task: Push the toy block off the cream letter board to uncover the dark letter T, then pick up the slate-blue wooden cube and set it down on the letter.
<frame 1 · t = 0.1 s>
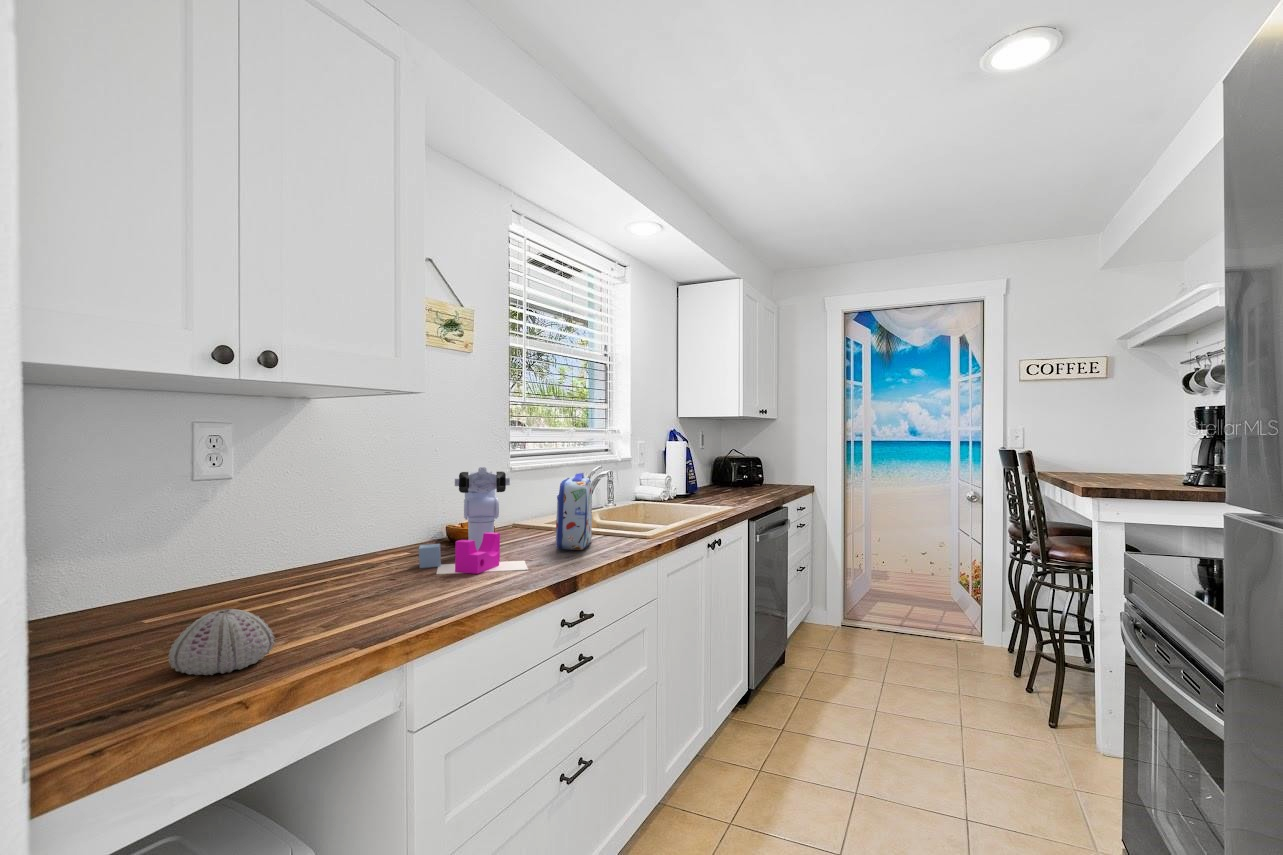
hand: (483, 482, 167), 22 cm above the worktop, tool horizontal, fingers open, 7 cm apart
lunch box: (574, 546, 195), on the worktop
toy block: (482, 567, 163), resting on letter board
letter board: (482, 567, 163), on the worktop
blue cube: (430, 565, 165), on the worktop, touching letter board
sea urchin shell: (222, 665, 96), on the worktop
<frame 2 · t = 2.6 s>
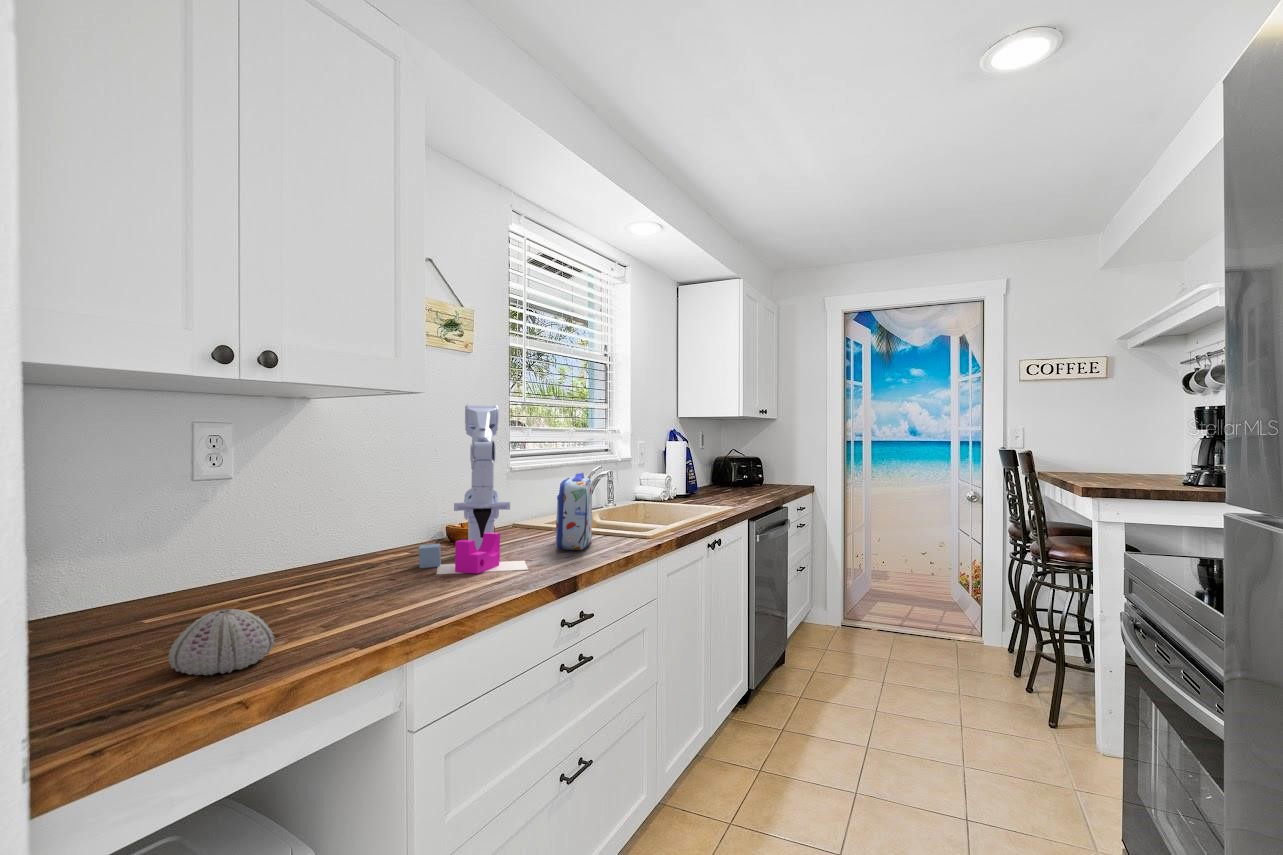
hand: (482, 537, 171), 7 cm above the worktop, tool pointing down, fingers closed, pressing on toy block
toy block: (482, 567, 163), resting on letter board, touching gripper
everything else where it was.
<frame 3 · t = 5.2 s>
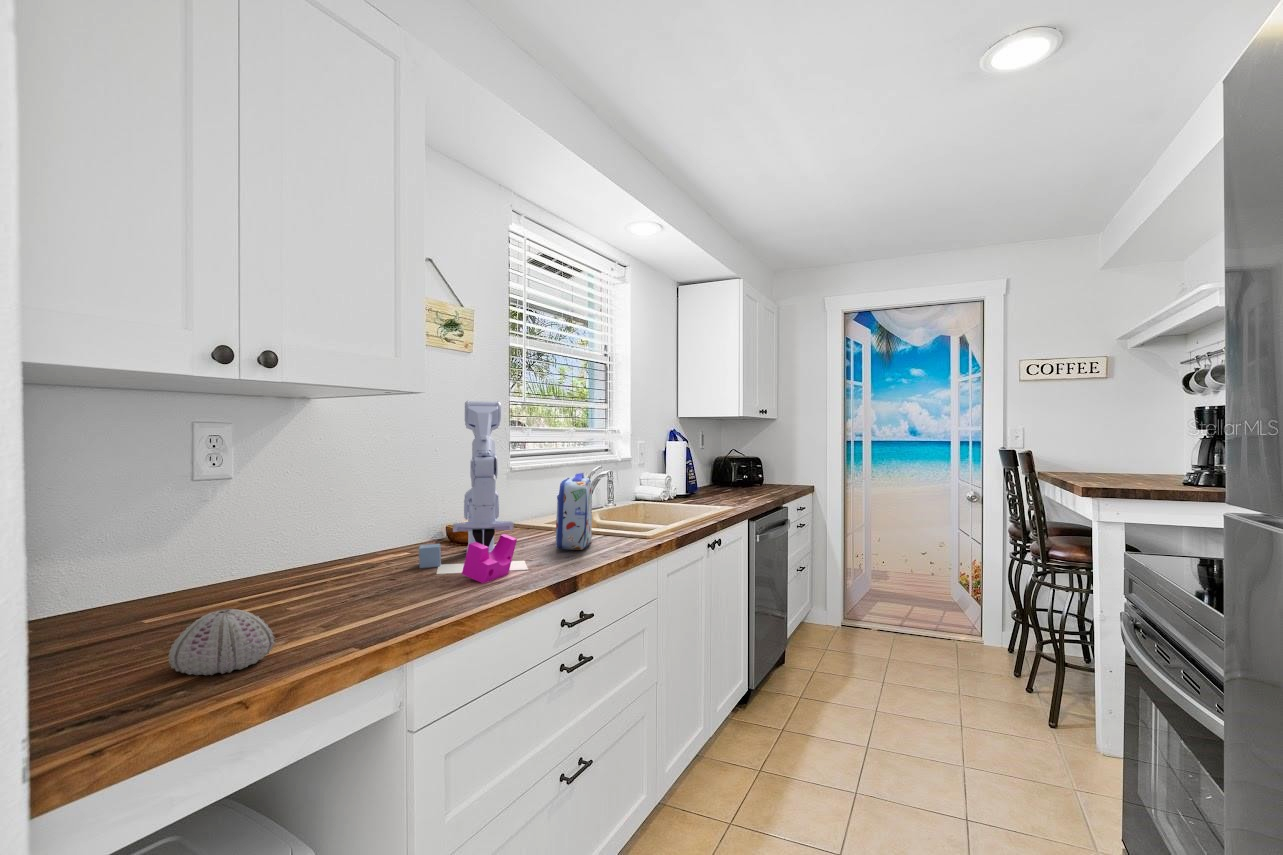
hand: (483, 559, 159), 3 cm above the worktop, tool pointing down, fingers closed
toy block: (490, 573, 155), point 1 cm above the worktop, touching gripper
everything else where it was.
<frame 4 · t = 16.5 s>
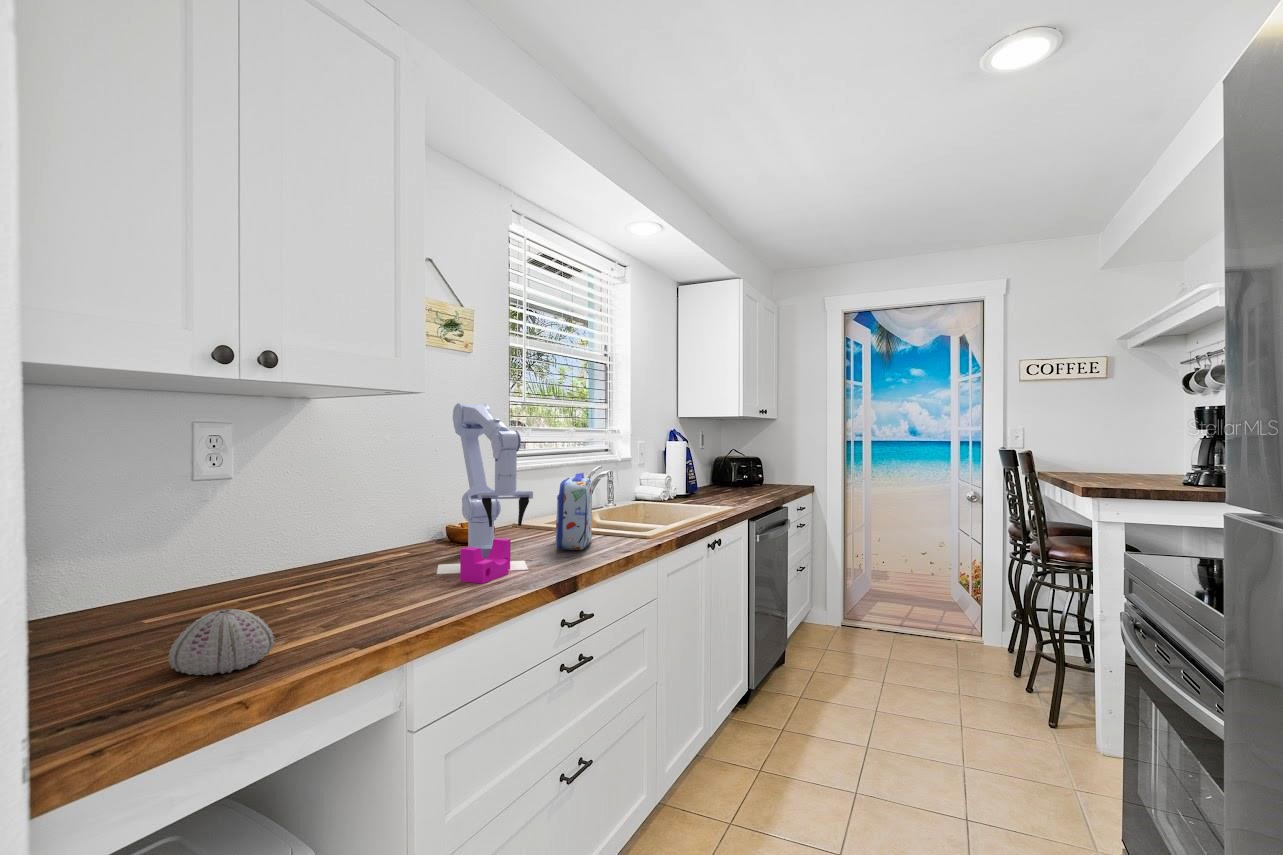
hand: (505, 525, 172), 9 cm above the worktop, tool pointing down, fingers open, 7 cm apart
toy block: (490, 576, 154), on the worktop, touching letter board
blue cube: (482, 566, 163), resting on letter board
everything else where it was.
at the end: toy block inside the target area (5.6 cm from its centre), on the worktop; blue cube 0.0 cm off-centre on the letter board, point 0.3 cm above the letter board's base; blue cube tilted 0° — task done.
